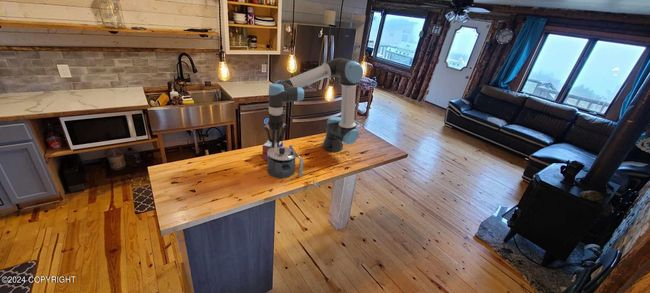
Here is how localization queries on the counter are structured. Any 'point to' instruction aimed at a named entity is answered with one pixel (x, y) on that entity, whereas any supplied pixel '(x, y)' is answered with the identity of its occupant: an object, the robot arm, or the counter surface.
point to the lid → (282, 154)
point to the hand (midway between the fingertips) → (275, 152)
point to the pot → (283, 167)
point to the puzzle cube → (268, 146)
